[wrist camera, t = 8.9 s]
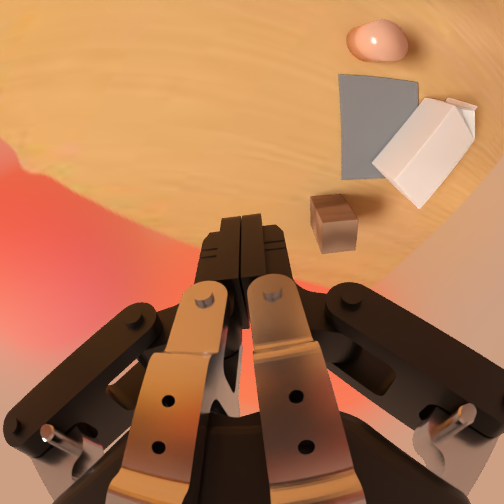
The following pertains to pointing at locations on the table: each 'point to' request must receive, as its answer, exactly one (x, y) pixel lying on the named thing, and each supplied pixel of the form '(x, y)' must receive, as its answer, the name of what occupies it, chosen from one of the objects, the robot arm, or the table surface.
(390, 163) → the milk carton
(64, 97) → the table surface
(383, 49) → the pink rounded glossy part
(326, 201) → the wooden block
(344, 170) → the mat
